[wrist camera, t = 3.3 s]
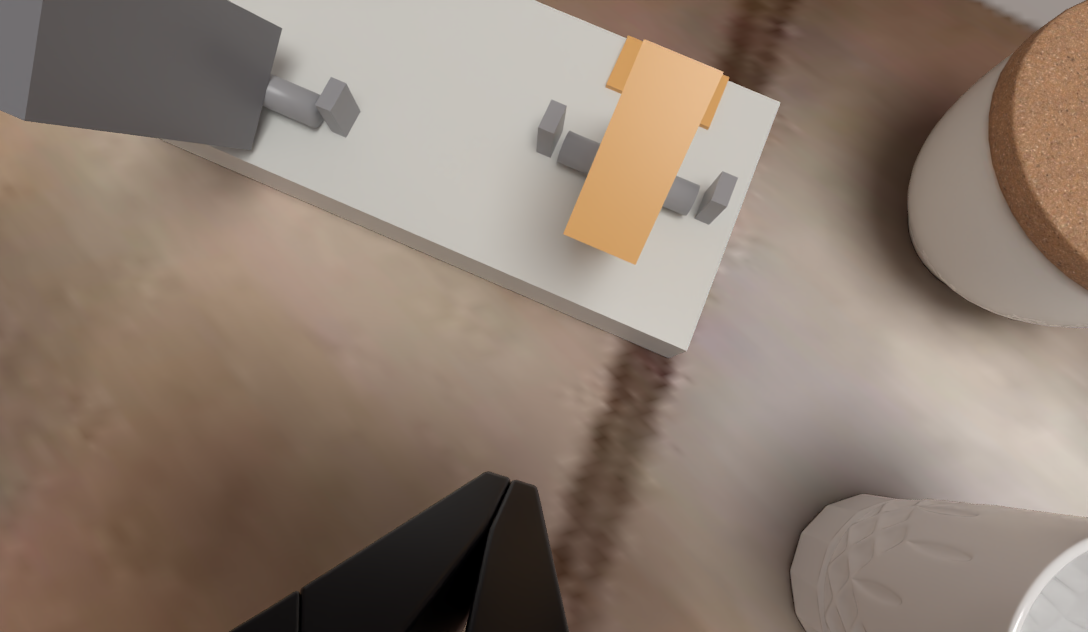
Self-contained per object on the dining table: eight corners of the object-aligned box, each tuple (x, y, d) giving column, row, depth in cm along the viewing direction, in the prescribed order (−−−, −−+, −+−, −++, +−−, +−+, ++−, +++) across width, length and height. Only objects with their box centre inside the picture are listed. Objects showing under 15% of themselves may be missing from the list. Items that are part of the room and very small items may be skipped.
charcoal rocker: (310, 169, 21) (92, 150, 12) (189, 118, 21) (-113, 61, 12) (343, 55, 20) (130, -58, 11) (215, 2, 20) (-94, -152, 11)
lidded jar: (1130, 319, 24) (1521, 256, 14) (905, 375, 23) (1171, 345, 13) (1035, 99, 26) (1330, -82, 16) (824, 142, 24) (1009, -26, 15)
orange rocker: (665, 253, 21) (704, 294, 12) (543, 201, 21) (494, 205, 13) (716, 144, 20) (799, 103, 11) (587, 90, 20) (569, 8, 11)
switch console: (668, 358, 22) (703, 344, 18) (161, 140, 23) (83, 78, 19) (755, 132, 24) (803, 74, 20) (288, -62, 25) (243, -157, 21)
